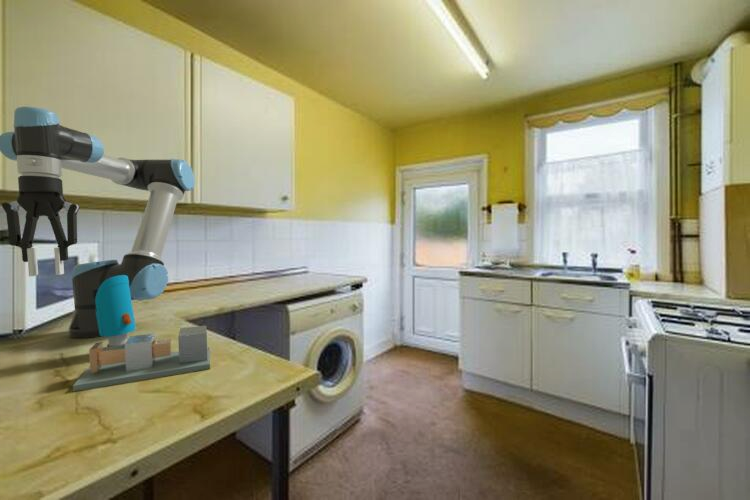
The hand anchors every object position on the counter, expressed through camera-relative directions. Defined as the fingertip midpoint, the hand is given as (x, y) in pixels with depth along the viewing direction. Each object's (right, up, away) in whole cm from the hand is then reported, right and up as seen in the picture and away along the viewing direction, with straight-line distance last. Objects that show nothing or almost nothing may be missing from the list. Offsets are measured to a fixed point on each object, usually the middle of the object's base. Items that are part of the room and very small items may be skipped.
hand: (47, 274), depth 83 cm
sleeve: (+24, -21, -1) cm, 32 cm away
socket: (+33, -21, +4) cm, 40 cm away
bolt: (+22, -21, -2) cm, 30 cm away
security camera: (+9, -22, +11) cm, 26 cm away
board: (+25, -23, 0) cm, 34 cm away
